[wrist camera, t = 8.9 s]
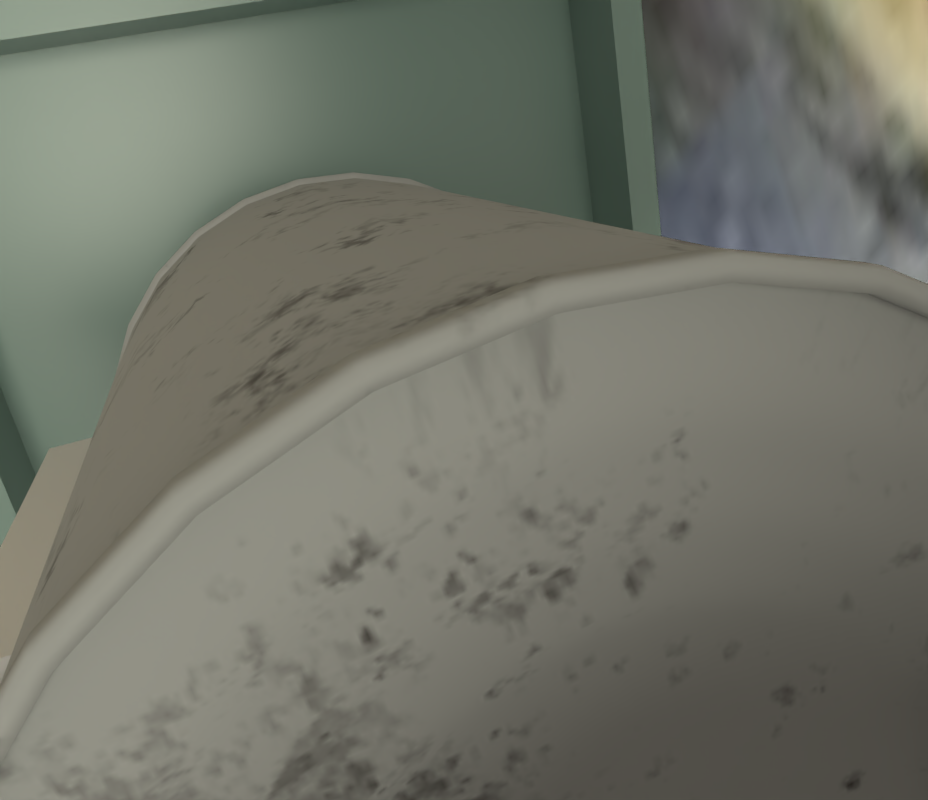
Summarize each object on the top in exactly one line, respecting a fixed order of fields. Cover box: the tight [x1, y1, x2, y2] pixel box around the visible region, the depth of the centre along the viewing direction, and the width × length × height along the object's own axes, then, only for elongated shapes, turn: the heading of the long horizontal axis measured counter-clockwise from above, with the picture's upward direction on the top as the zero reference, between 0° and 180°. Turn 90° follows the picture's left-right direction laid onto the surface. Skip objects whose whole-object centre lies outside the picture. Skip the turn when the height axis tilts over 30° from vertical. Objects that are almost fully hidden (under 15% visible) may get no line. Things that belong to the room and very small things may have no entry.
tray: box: [0, 0, 661, 547], centre depth 22 cm, size 18×18×3 cm
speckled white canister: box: [0, 172, 928, 800], centre depth 11 cm, size 10×10×12 cm
